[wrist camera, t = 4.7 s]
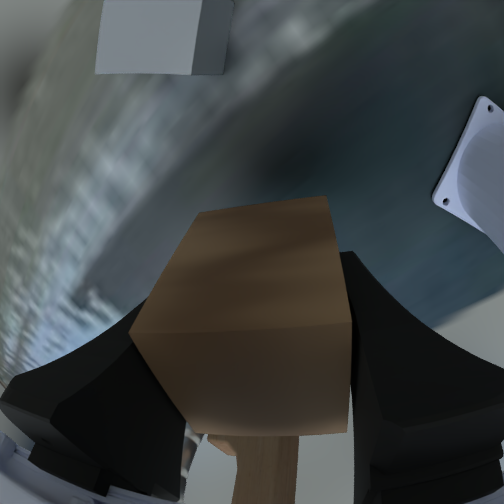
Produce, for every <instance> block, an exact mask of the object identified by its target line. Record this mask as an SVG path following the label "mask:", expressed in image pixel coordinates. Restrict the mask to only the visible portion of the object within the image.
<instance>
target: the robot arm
mask: <svg viewBox="0 0 504 504" xmlns="http://www.w3.org/2000/svg"><path fill="white" fill-rule="evenodd" d="M489 105H490V108H491V109H490V111H488V106H489ZM445 198H447V201H446V202H445V203H443V200H444V199H445ZM432 200H433V202H434V203H435V204H436V205H438V206H439V207H441V208H443V209H445V210H447V211H448V212H450V213H452V214H454V215H455V216H457V217H459V218H460V219H462V220H464V221H465V222H467V223H469V224H470V225H472V226H474V227H475V228H477V229H479V230H480V231H482V232H483V233H485V234H487V236H488V237H489V238H490V239H491V240H492V241H493V242H494V243H495V245H496V246H497V247H498V248H499V249H500V250H501V251H502V253H503V254H504V111H503V110H502V109H500V108H499V107H498V106H497V105H496V104H494V103H493V102H492V101H491V100H490V99H488V98H487V97H484V96H480V97H478V99H477V101H476V103H475V106H474V108H473V111H472V113H471V116H470V118H469V120H468V122H467V125H466V127H465V129H464V132H463V134H462V136H461V138H460V140H459V143H458V145H457V147H456V149H455V151H454V153H453V155H452V157H451V159H450V161H449V163H448V165H447V167H446V169H445V171H444V173H443V175H442V177H441V179H440V181H439V183H438V185H437V187H436V189H435V191H434V192H433V195H432ZM339 255H340V260H341V265H342V270H343V275H344V280H345V285H346V291H347V296H348V302H349V307H350V313H351V319H352V350H351V379H350V386H351V394H352V407H353V427H354V504H504V473H503V474H502V470H501V466H500V461H499V459H501V458H502V457H503V449H502V445H501V442H502V441H503V440H504V369H503V368H501V367H499V366H497V365H494V364H492V363H490V362H488V361H485V360H483V359H481V358H479V357H477V356H475V355H473V354H471V353H469V352H468V351H466V350H464V349H462V348H460V347H458V346H457V345H455V344H453V343H452V342H450V341H448V340H447V339H445V338H444V337H442V336H441V335H439V334H438V333H436V332H435V331H433V330H432V329H430V328H429V327H428V326H426V325H425V324H424V323H422V322H421V321H420V320H418V319H417V318H416V317H415V316H413V315H412V314H411V313H410V312H409V311H408V310H406V309H405V308H404V307H403V306H402V305H401V304H400V303H399V302H398V301H397V300H396V299H395V298H394V297H393V296H392V295H391V294H390V293H389V292H388V291H387V290H386V289H385V288H384V287H383V286H382V285H381V284H380V283H379V282H378V281H377V280H376V279H375V277H374V276H373V275H372V274H371V273H370V272H369V270H368V269H367V268H366V267H365V266H364V264H363V263H362V262H361V260H360V259H359V258H358V256H357V255H356V254H355V253H354V252H353V251H348V252H339ZM147 298H148V297H147ZM147 298H146V299H145V300H144V301H143V302H142V303H141V304H139V305H138V306H137V307H136V308H134V309H133V310H132V311H131V312H130V313H128V314H127V315H126V316H125V317H123V318H122V319H121V320H120V321H118V322H117V323H116V324H114V325H113V326H112V327H110V328H109V329H108V330H106V331H105V332H103V333H102V334H100V335H99V336H97V337H96V338H94V339H93V340H91V341H89V342H88V343H86V344H84V345H83V346H81V347H79V348H78V349H76V350H74V351H72V352H71V353H69V354H67V355H65V356H63V357H61V358H59V359H57V360H55V361H52V362H50V363H48V364H46V365H43V366H41V367H39V368H36V369H33V370H31V371H28V372H25V373H22V374H20V375H16V376H15V377H14V378H13V379H12V380H11V381H10V383H9V385H8V386H7V388H6V389H5V391H4V393H3V394H2V396H1V398H0V409H1V411H2V412H3V413H4V414H5V416H6V417H7V418H8V419H9V420H10V421H11V422H12V423H14V424H15V425H16V426H17V427H18V428H19V429H20V430H21V431H22V432H23V433H25V434H26V435H27V436H28V437H29V438H30V439H32V440H33V441H34V442H35V445H34V447H33V449H32V451H31V452H30V451H28V450H26V449H24V448H22V447H20V446H18V445H17V444H16V443H15V442H14V441H13V440H12V439H10V438H9V437H8V436H7V435H6V434H4V433H3V432H2V431H0V504H182V503H177V502H178V501H179V500H180V481H181V464H182V453H183V443H184V436H185V429H186V422H187V421H186V420H185V418H184V417H183V416H182V414H181V413H180V412H179V410H178V409H177V407H176V406H175V405H174V403H173V402H172V400H171V399H170V397H169V396H168V395H167V393H166V392H165V390H164V389H163V387H162V386H161V384H160V383H159V381H158V380H157V378H156V377H155V375H154V374H153V372H152V371H151V369H150V368H149V366H148V364H147V363H146V361H145V360H144V358H143V356H142V355H141V353H140V352H139V350H138V348H137V347H136V345H135V343H134V342H133V340H132V338H131V337H130V335H129V333H128V332H129V330H130V329H131V327H132V325H133V323H134V321H135V320H136V318H137V316H138V314H139V312H140V311H141V309H142V307H143V305H144V304H145V302H146V300H147Z"/></svg>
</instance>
